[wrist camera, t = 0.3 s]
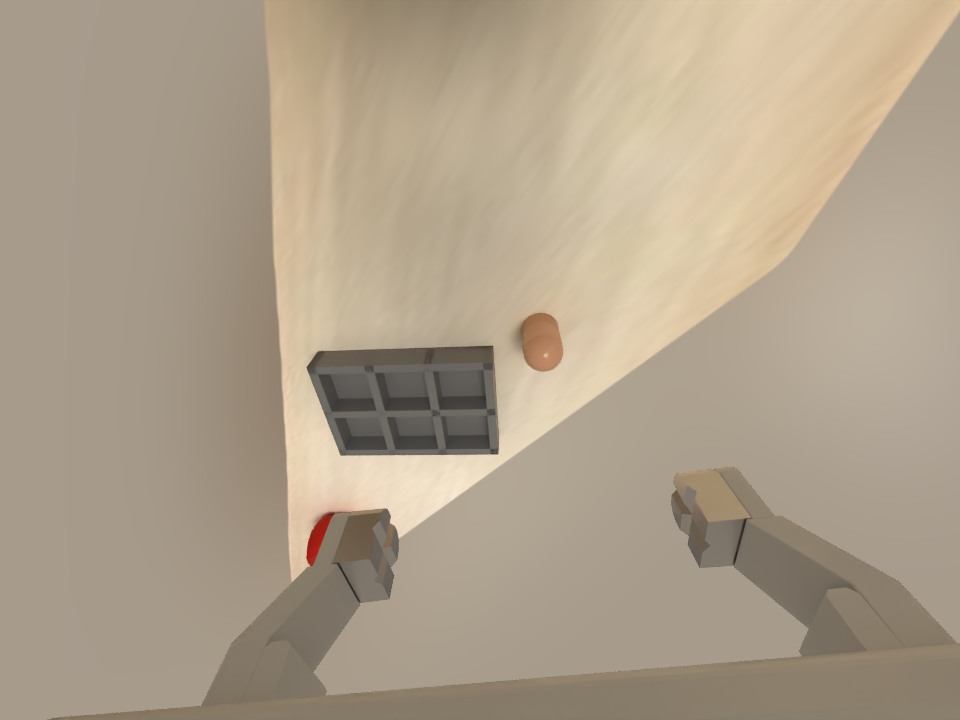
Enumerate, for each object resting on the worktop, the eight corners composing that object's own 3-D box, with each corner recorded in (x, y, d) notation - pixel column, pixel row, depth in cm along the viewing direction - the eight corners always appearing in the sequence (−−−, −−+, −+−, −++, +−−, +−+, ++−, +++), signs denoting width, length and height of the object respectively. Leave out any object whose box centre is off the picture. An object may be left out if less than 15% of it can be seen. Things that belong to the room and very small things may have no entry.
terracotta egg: (521, 313, 52) (523, 346, 45) (558, 312, 51) (566, 345, 45) (522, 344, 54) (524, 379, 48) (557, 343, 54) (564, 379, 47)
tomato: (383, 527, 81) (371, 571, 73) (344, 544, 85) (328, 588, 78) (345, 499, 76) (327, 543, 69) (305, 519, 81) (285, 563, 73)
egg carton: (318, 351, 57) (306, 367, 54) (493, 345, 55) (492, 362, 51) (348, 437, 66) (340, 455, 63) (498, 435, 64) (498, 454, 61)
